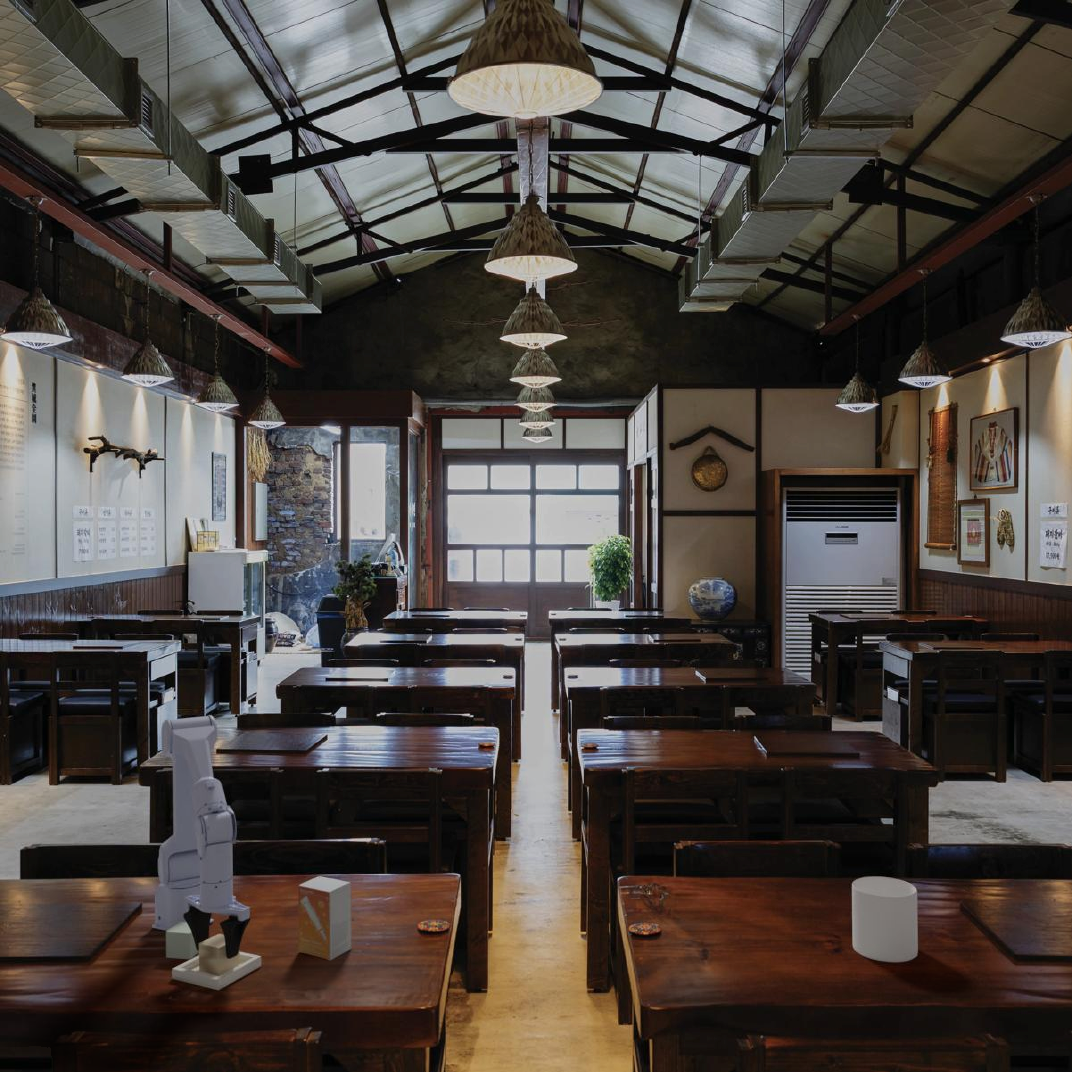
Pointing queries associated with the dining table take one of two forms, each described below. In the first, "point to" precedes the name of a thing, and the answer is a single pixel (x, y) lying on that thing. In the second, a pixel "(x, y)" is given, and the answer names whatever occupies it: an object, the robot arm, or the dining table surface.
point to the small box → (324, 917)
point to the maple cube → (215, 956)
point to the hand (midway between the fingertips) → (217, 952)
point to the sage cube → (180, 942)
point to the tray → (194, 976)
